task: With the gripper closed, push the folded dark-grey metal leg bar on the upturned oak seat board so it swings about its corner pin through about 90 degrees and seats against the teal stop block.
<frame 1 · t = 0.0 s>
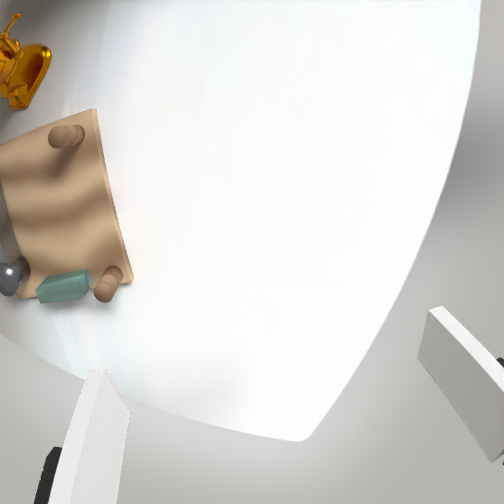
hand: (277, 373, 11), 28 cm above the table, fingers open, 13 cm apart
seat board: (47, 212, 34), on the table
figurine: (25, 70, 26), on the table
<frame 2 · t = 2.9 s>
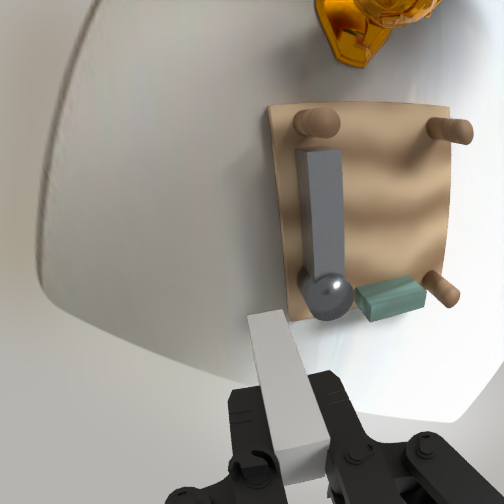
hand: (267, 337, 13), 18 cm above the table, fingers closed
seat board: (372, 207, 31), on the table
figurine: (353, 20, 23), on the table
leg: (323, 235, 27), point 4 cm above the table, hinge at 0.0°
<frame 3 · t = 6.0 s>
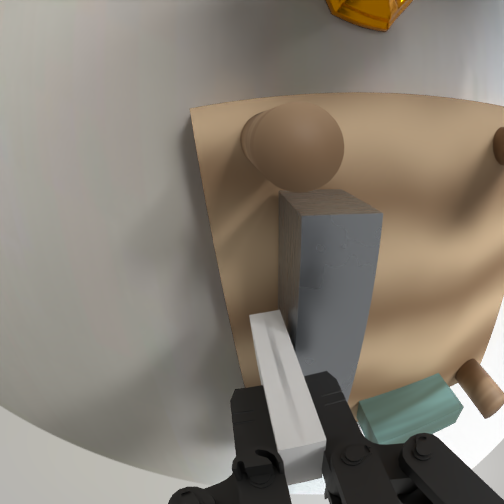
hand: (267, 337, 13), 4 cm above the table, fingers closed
seat board: (395, 285, 17), on the table
leg: (314, 363, 14), point 4 cm above the table, hinge at 6.4°, touching gripper
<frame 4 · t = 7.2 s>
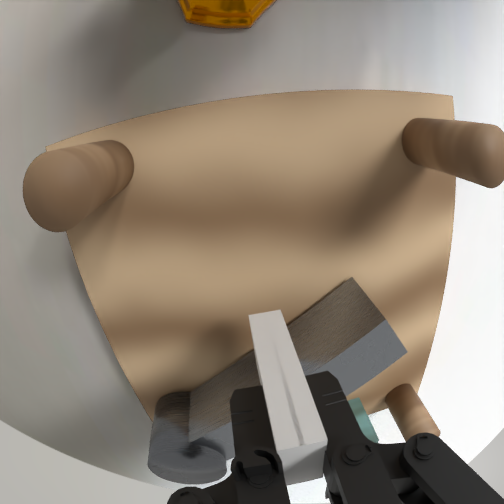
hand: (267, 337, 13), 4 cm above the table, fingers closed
seat board: (285, 305, 17), on the table
leg: (257, 402, 15), point 4 cm above the table, hinge at 57.7°, touching gripper
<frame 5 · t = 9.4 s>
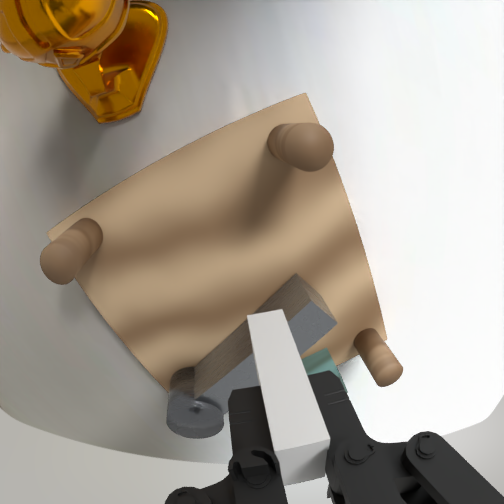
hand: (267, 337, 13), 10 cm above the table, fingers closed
seat board: (235, 288, 24), on the table
figurine: (110, 50, 16), on the table
leg: (239, 367, 22), point 4 cm above the table, hinge at 68.6°
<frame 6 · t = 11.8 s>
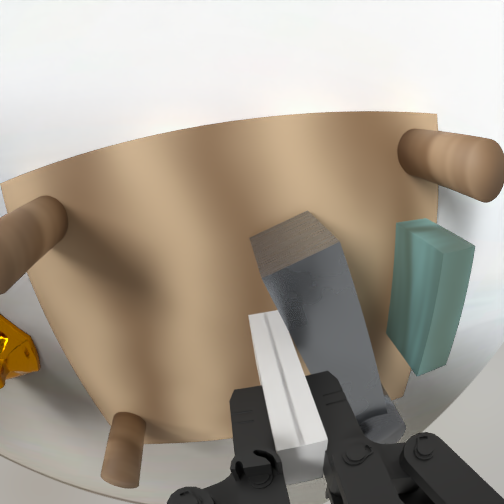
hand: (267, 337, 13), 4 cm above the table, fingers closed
seat board: (243, 313, 17), on the table
leg: (342, 369, 14), point 4 cm above the table, hinge at 72.8°, touching gripper
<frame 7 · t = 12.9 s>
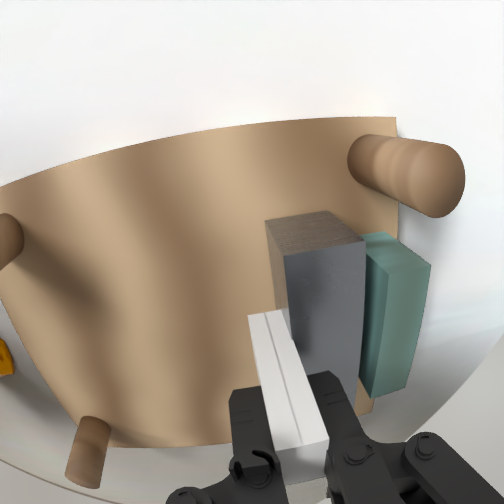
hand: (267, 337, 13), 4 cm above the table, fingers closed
seat board: (193, 326, 17), on the table
leg: (318, 378, 14), point 4 cm above the table, hinge at 88.8°, touching gripper
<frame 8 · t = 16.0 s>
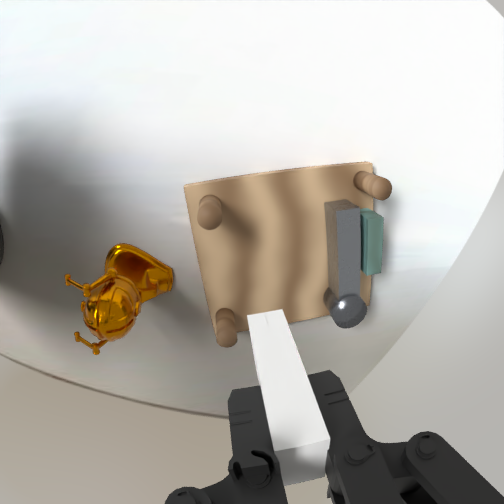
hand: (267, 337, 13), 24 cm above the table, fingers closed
seat board: (288, 249, 39), on the table
figurine: (132, 274, 38), on the table
leg: (344, 267, 36), point 4 cm above the table, hinge at 88.9°
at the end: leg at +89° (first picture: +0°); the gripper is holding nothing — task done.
